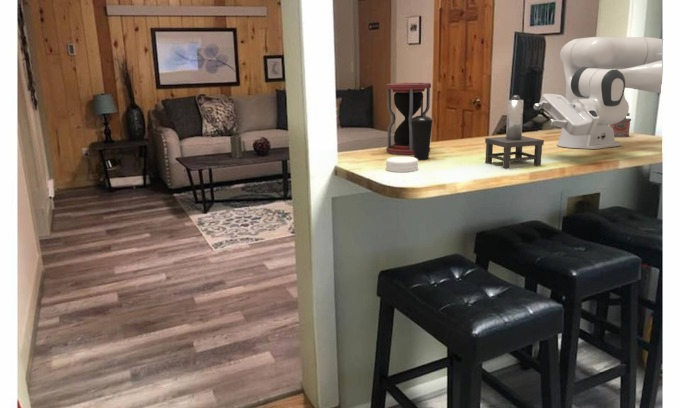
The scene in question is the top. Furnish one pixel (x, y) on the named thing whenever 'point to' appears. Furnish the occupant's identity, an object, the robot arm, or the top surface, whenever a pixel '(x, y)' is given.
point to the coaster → (401, 164)
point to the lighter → (621, 128)
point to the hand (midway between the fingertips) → (542, 114)
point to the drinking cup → (421, 135)
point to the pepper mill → (514, 118)
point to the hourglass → (405, 114)
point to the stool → (518, 152)
